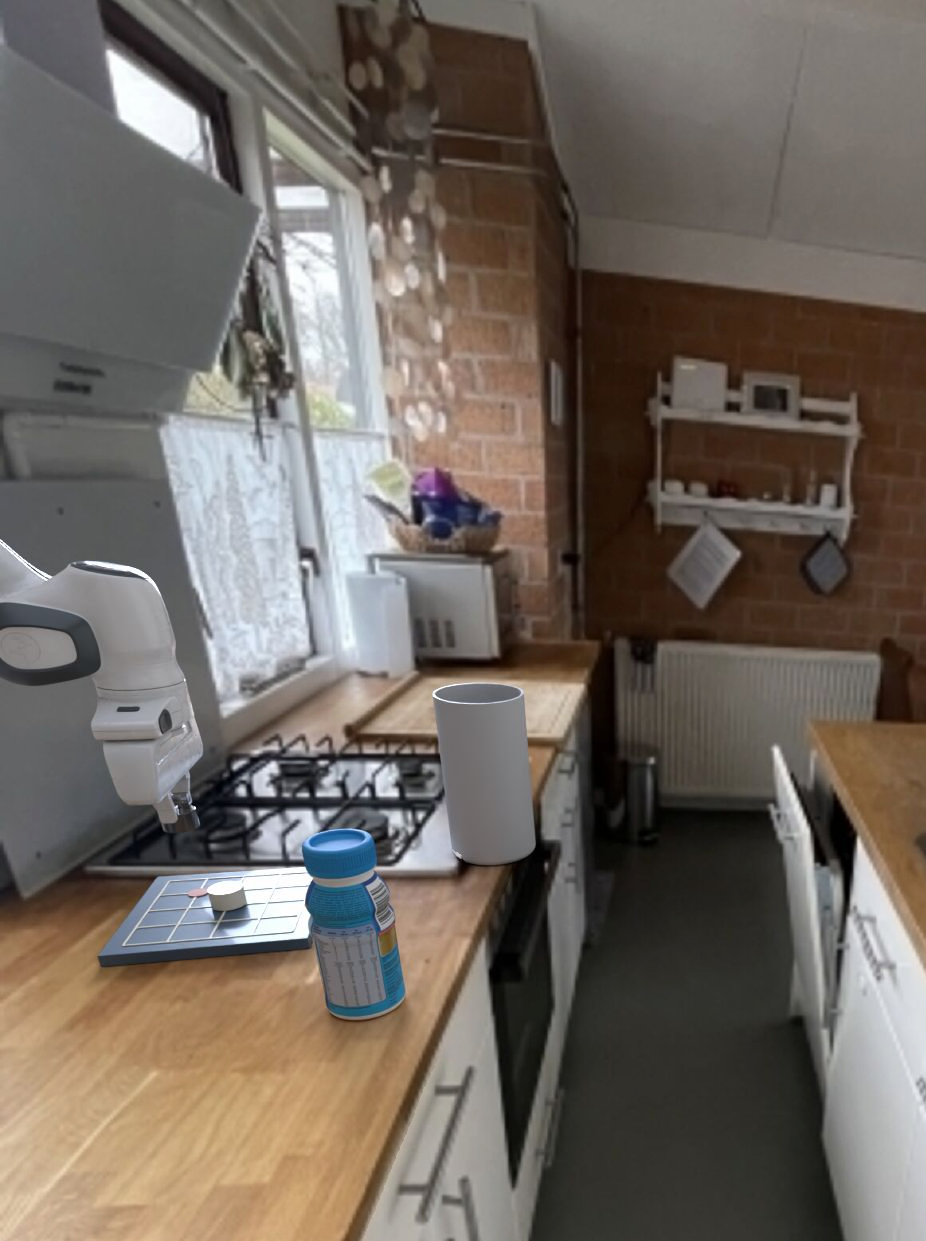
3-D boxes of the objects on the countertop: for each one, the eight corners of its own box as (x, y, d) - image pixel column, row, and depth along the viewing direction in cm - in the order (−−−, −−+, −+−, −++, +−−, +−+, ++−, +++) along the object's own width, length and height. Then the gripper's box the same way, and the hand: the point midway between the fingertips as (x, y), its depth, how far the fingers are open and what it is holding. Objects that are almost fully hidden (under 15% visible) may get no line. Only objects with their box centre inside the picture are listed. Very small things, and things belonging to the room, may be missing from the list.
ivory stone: (207, 912, 112) (203, 895, 111) (215, 898, 116) (211, 882, 115) (243, 909, 113) (239, 893, 112) (250, 896, 117) (246, 879, 116)
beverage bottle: (344, 1032, 94) (309, 863, 85) (313, 999, 99) (278, 836, 90) (420, 1004, 100) (396, 842, 91) (388, 974, 105) (361, 818, 96)
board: (100, 967, 103) (96, 954, 102) (160, 886, 121) (156, 875, 120) (310, 948, 109) (307, 936, 108) (336, 874, 128) (333, 864, 127)
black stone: (158, 834, 110) (153, 816, 109) (168, 822, 113) (163, 805, 112) (195, 832, 111) (190, 814, 110) (203, 820, 115) (199, 803, 114)
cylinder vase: (510, 872, 132) (494, 708, 121) (435, 860, 134) (413, 697, 123) (550, 841, 143) (539, 688, 132) (480, 830, 145) (464, 679, 134)
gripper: (145, 685, 113) (173, 787, 119) (83, 730, 96) (119, 846, 102) (201, 685, 115) (226, 785, 121) (151, 728, 98) (182, 842, 104)
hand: (177, 813), depth 111 cm, fingers closed on black stone, 4 cm apart
